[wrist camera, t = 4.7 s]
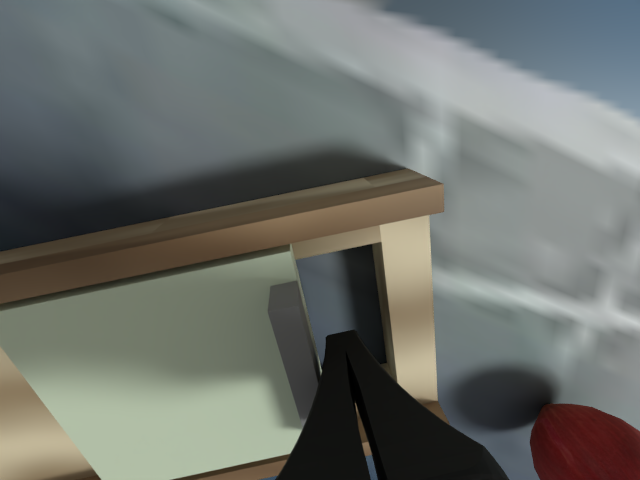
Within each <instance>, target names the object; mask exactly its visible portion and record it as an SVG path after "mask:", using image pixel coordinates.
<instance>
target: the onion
mask: <svg viewBox="0 0 640 480" xmlns="http://www.w3.org/2000/svg"><path fill="white" fill-rule="evenodd" d="M530 446H531V452H532V458H533V463H534V468H535V470H536V472H537V474H538V476H539V478H540V480H640V431H638V430H637V429H635V428H634V427H632V426H631V425H629V424H628V423H626V422H625V421H623V420H622V419H620V418H617V417H615V416H612V415H609V414H607V413H605V412H602V411H600V410H598V409H595V408H593V407H588V406H582V405H575V404H552V403H551V404H546V405H544V406H543V407H542V408H541V410H540V413H539V415H538V417H537V420H536V422H535V424H534V426H533V429H532V431H531V438H530Z"/></svg>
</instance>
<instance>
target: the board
mask: <svg viewBox="0 0 640 480" xmlns="http://www.w3.org/2000/svg"><path fill="white" fill-rule="evenodd" d="M441 212H444V188H443V184H442V183H440V182H438V181H436V180H433V179H431V178H429V177H426V176H424V175H422V174H420V173H417V172H415V171H413V170H411V169H403V170H398V171H393V172H388V173H383V174H378V175H374V176H369V177H364V178H359V179H354V180H349V181H344V182H339V183H334V184H329V185H325V186H320V187H315V188H310V189H305V190H300V191H295V192H290V193H285V194H280V195H276V196H271V197H266V198H261V199H256V200H251V201H246V202H241V203H236V204H231V205H227V206H222V207H217V208H212V209H207V210H202V211H197V212H192V213H187V214H182V215H178V216H173V217H168V218H163V219H158V220H153V221H148V222H143V223H138V224H133V225H129V226H124V227H119V228H114V229H109V230H104V231H99V232H94V233H89V234H84V235H80V236H75V237H70V238H65V239H60V240H55V241H50V242H45V243H40V244H35V245H31V246H26V247H21V248H16V249H11V250H6V251H1V252H0V304H1V303H6V302H11V301H16V300H21V299H26V298H30V297H35V296H40V295H45V294H50V293H55V292H59V291H64V290H69V289H74V288H79V287H84V286H88V285H93V284H98V283H103V282H108V281H113V280H117V279H122V278H127V277H132V276H137V275H142V274H146V273H151V272H156V271H161V270H166V269H170V268H175V267H180V266H185V265H190V264H195V263H199V262H204V261H209V260H214V259H219V258H224V257H228V256H233V255H238V254H243V253H248V252H253V251H257V250H262V249H267V248H272V247H277V246H282V245H286V244H291V245H292V249H293V253H294V257H295V260H296V259H301V258H306V257H310V256H315V255H320V254H325V253H330V252H334V251H339V250H344V249H349V248H354V247H359V246H363V245H368V244H372V249H373V257H374V265H375V272H376V280H377V288H378V296H379V304H380V311H381V319H382V327H383V335H384V343H385V350H386V358H387V363H385V364H380V365H381V366H382V367H383V368H384V369H385V370H386V372H387V373H388V374H389V375H390V376H391V377H392V378H393V379H394V380H395V381H396V382H397V383H398V384H399V385H400V386H401V387H402V388H403V389H404V390H406V391H407V392H408V393H409V394H410V395H411V396H412V397H413V398H415V399H416V400H417V401H418V402H419V403H421V404H422V405H423V406H424V407H426V408H427V409H428V410H430V411H431V412H432V413H434V414H435V415H436V416H438V417H439V418H440V419H442V420H443V421H444V422H446V423H447V424H449V422H448V420H447V418H446V416H445V414H444V412H443V410H442V408H441V407H440V405H439V403H438V398H437V376H436V355H435V333H434V312H433V290H432V268H431V247H430V225H429V215H431V214H436V213H441ZM355 404H356V403H355ZM356 412H357V419H358V427H359V432H360V436H361V441H362V445H363V449H364V454H365V456H368V455H372V453H371V450H370V446H369V443H368V440H367V437H366V434H365V430H364V427H363V424H362V421H361V418H360V415H359V412H358V409H357V406H356ZM449 425H450V424H449ZM289 455H290V454H286V455H282V456H277V457H272V458H268V459H263V460H259V461H254V462H250V463H245V464H240V465H236V466H231V467H227V468H222V469H218V470H213V471H208V472H204V473H199V474H195V475H190V476H186V477H181V478H176V479H172V480H259V479H263V478H268V477H272V476H277V475H279V473H280V471H281V470H282V468H283V466H284V465H285V463H286V461H287V459H288V457H289ZM0 480H101V478H100V477H99V476H98V474H97V473H96V472H95V471H94V469H93V468H92V467H91V465H90V464H89V463H88V461H87V460H86V459H85V457H84V456H83V455H82V453H81V452H80V451H79V449H78V448H77V447H76V445H75V444H74V443H73V441H72V440H71V439H70V437H69V436H68V435H67V434H66V432H65V431H64V430H63V428H62V427H61V426H60V424H59V423H58V422H57V420H56V419H55V418H54V416H53V415H52V414H51V412H50V411H49V410H48V408H47V407H46V406H45V404H44V403H43V402H42V401H41V399H40V398H39V397H38V395H37V394H36V393H35V391H34V390H33V389H32V387H31V386H30V385H29V383H28V382H27V381H26V379H25V378H24V377H23V375H22V374H21V373H20V371H19V370H18V369H17V368H16V366H15V365H14V364H13V362H12V361H11V360H10V358H9V357H8V356H7V354H6V353H5V352H4V350H3V349H2V348H1V346H0Z"/></svg>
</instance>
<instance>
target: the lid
mask: <svg viewBox="0 0 640 480" xmlns="http://www.w3.org/2000/svg"><path fill="white" fill-rule="evenodd" d="M0 346H1V348H2V349H3V350H4V352H5V353H6V354H7V356H8V357H9V358H10V360H11V361H12V362H13V364H14V365H15V366H16V368H17V369H18V370H19V371H20V373H21V374H22V375H23V377H24V378H25V379H26V381H27V382H28V383H29V385H30V386H31V387H32V389H33V390H34V391H35V393H36V394H37V395H38V397H39V398H40V399H41V401H42V402H43V403H44V404H45V406H46V407H47V408H48V410H49V411H50V412H51V414H52V415H53V416H54V418H55V419H56V420H57V422H58V423H59V424H60V426H61V427H62V428H63V430H64V431H65V432H66V434H67V435H68V436H69V437H70V439H71V440H72V441H73V443H74V444H75V445H76V447H77V448H78V449H79V451H80V452H81V453H82V455H83V456H84V457H85V459H86V460H87V461H88V463H89V464H90V465H91V467H92V468H93V469H94V471H95V472H96V473H97V474H98V476H99V477H100V478H101V480H172V479H176V478H181V477H186V476H190V475H195V474H199V473H204V472H208V471H213V470H218V469H222V468H227V467H231V466H236V465H240V464H245V463H250V462H254V461H259V460H263V459H268V458H272V457H277V456H282V455H286V454H290V453H291V451H292V450H293V448H294V446H295V444H296V442H297V440H298V438H299V436H300V434H301V431H302V429H303V427H304V424H305V422H306V420H307V417H308V415H309V412H310V409H311V407H312V404H313V401H314V398H315V395H316V392H317V388H318V384H319V381H320V377H321V373H322V369H321V365H320V361H319V357H318V353H317V349H316V344H315V340H314V336H313V332H312V328H311V324H310V320H309V315H308V311H307V307H306V303H305V299H304V295H303V291H302V286H301V282H300V278H299V274H298V270H297V266H296V262H295V257H294V253H293V249H292V245H291V244H286V245H282V246H277V247H272V248H267V249H262V250H257V251H253V252H248V253H243V254H238V255H233V256H228V257H224V258H219V259H214V260H209V261H204V262H199V263H195V264H190V265H185V266H180V267H175V268H170V269H166V270H161V271H156V272H151V273H146V274H142V275H137V276H132V277H127V278H122V279H117V280H113V281H108V282H103V283H98V284H93V285H88V286H84V287H79V288H74V289H69V290H64V291H59V292H55V293H50V294H45V295H40V296H35V297H30V298H26V299H21V300H16V301H11V302H6V303H1V304H0Z"/></svg>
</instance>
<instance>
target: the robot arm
mask: <svg viewBox="0 0 640 480" xmlns="http://www.w3.org/2000/svg"><path fill="white" fill-rule="evenodd" d="M355 403H356V404H355ZM356 406H357V409H358V412H359V415H360V418H361V421H362V424H363V427H364V430H365V434H366V437H367V440H368V443H369V446H370V450H371V453H372V457H373V461H374V465H375V469H376V474H377V478H378V480H509V479H508V477H507V475H506V474H505V472H504V471H503V470H502V468H501V467H500V466H499V464H498V463H497V462H496V460H495V459H494V458H493V456H492V455H491V454H490V453H489V452H488V450H487V449H486V448H485V447H484V446H483V445H481V444H479V443H478V442H476V441H474V440H472V439H471V438H469V437H467V436H466V435H464V434H463V433H461V432H459V431H458V430H456V429H455V428H453V427H452V426H450V425H449V424H447V423H446V422H444V421H443V420H442V419H440V418H439V417H438V416H436V415H435V414H434V413H432V412H431V411H430V410H428V409H427V408H426V407H424V406H423V405H422V404H421V403H419V402H418V401H417V400H416V399H415V398H413V397H412V396H411V395H410V394H409V393H408V392H407V391H406V390H404V389H403V388H402V387H401V386H400V385H399V384H398V383H397V382H396V381H395V380H394V379H393V378H392V377H391V376H390V375H389V374H388V373H387V372H386V370H385V369H384V368H383V367H382V366H381V365H380V364H379V362H378V361H377V360H376V359H375V358H374V356H373V355H372V354H371V353H370V351H369V350H368V349H367V347H366V346H365V344H364V343H363V341H362V340H361V338H360V337H359V335H358V333H357V331H355V330H351V331H346V332H341V333H336V334H331V335H328V336H327V337H326V349H325V357H324V363H323V368H322V373H321V377H320V381H319V384H318V388H317V392H316V395H315V398H314V401H313V404H312V407H311V409H310V412H309V415H308V417H307V420H306V422H305V424H304V427H303V429H302V431H301V434H300V436H299V438H298V440H297V442H296V444H295V446H294V448H293V450H292V451H291V453H290V455H289V457H288V459H287V461H286V463H285V465H284V466H283V468H282V470H281V471H280V473H279V475H278V476H277V478H276V479H275V480H371V479H370V475H369V470H368V466H367V462H366V458H365V454H364V449H363V445H362V441H361V436H360V432H359V427H358V419H357V412H356Z"/></svg>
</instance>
